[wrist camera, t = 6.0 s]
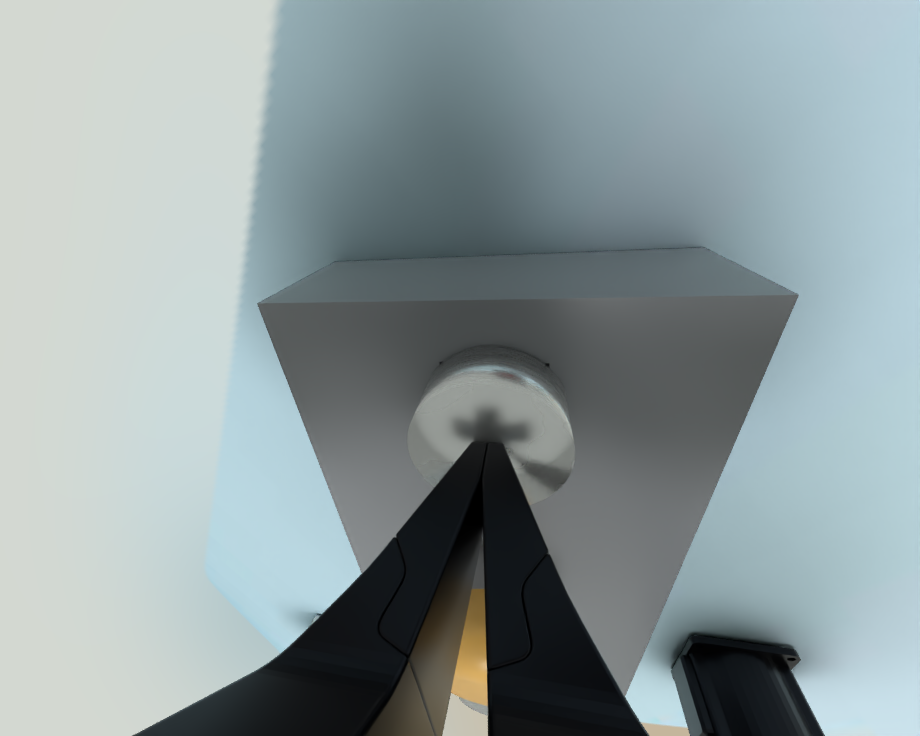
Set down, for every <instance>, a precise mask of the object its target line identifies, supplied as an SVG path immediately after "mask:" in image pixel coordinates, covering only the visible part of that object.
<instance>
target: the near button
mask: <svg viewBox="0 0 920 736" xmlns="http://www.w3.org/2000/svg"><path fill="white" fill-rule="evenodd" d="M473 441H477V442H486V443H487V444H488V443H490V442H495V443H503V444H504V446H505V448H506V450H507V453H508V455H509V457H510V460H511V462H512V464H513V467H514V469H515V472H516V474H517V476H518V479H519V481H520V484H521V486H522V488H523V491H524V493H525V495H526V498H527V500H528V503H529V505H531V504H534V503H537V502H539V501H542V500H544V499H546V498H547V497H549V496H551V495H552V494H554V493H555V492H556V491H557V490H558V489H560V488H561V486H562V485H563V484H564V483H565V482H566V480H567V479H568V477H569V476H570V474H571V471H572V469H573V466H574V461H575V446H574V440H573V434H572V428H571V422H570V416H569V410H568V404H567V398H566V393H565V390H564V387H563V385H562V383H561V382H560V380H559V378H558V377H557V376H556V374H555V373H554V372H553V371H552V370H551V369H550V368H549V366H547V365H546V364H545V363H544V362H542V361H541V360H540V359H538V358H536V357H535V356H533V355H531V354H529V353H527V352H524V351H522V350H519V349H516V348H512V347H507V346H499V345H483V346H476V347H471V348H468V349H465V350H462V351H460V352H457V353H455V354H453V355H452V356H450V357H449V358H447V359H446V360H445V361H443V362H442V363H441V364H440V365H439V366H438V367H437V368H436V370H435V371H434V373H433V374H432V376H431V377H430V380H429V382H428V384H427V387H426V389H425V391H424V393H423V396H422V398H421V400H420V402H419V405H418V407H417V409H416V411H415V414H414V416H413V418H412V421H411V423H410V425H409V429H408V436H407V443H408V450H409V454H410V457H411V459H412V461H413V464H414V465H415V467H416V468H417V470H418V471H419V473H420V474H421V475H422V476H423V478H424V479H425V480H426V481H427V482H429V483H430V484H431V485H432V486H433V487H435V486H436V485H437V484H438V482H439V481H440V480H441V479H442V477H443V476H444V475H445V474H446V473H447V471H448V470H449V469H450V468H451V466H452V465H453V464H454V463H455V462H456V460H457V459H458V458H459V457H460V455H461V454H462V453H463V452H464V451H465V449H466V448H467V447H468V446H469V445H470V443H471V442H473Z"/></svg>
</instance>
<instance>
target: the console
mask: <svg viewBox="0 0 920 736" xmlns="http://www.w3.org/2000/svg"><path fill="white" fill-rule="evenodd" d="M797 298H798V294H796V293H794V292H792V291H790V290H788V289H786V288H784V287H782V286H780V285H778V284H776V283H774V282H772V281H770V280H768V279H766V278H764V277H762V276H760V275H758V274H756V273H754V272H752V271H750V270H748V269H746V268H744V267H742V266H740V265H738V264H736V263H734V262H732V261H730V260H728V259H726V258H724V257H722V256H720V255H718V254H716V253H714V252H712V251H710V250H708V249H706V248H704V247H698V248H673V249H647V250H621V251H595V252H569V253H543V254H518V255H492V256H466V257H440V258H414V259H389V260H363V261H337V262H333V263H332V264H330V265H328V266H326V267H324V268H322V269H320V270H318V271H317V272H315V273H313V274H311V275H309V276H307V277H305V278H304V279H302V280H300V281H298V282H296V283H294V284H292V285H291V286H289V287H287V288H285V289H283V290H281V291H279V292H278V293H276V294H274V295H272V296H270V297H268V298H266V299H264V300H263V301H261V302H259V303H257V305H258V307H259V310H260V312H261V315H262V317H263V320H264V323H265V325H266V328H267V330H268V333H269V335H270V338H271V341H272V343H273V346H274V348H275V351H276V353H277V356H278V359H279V361H280V364H281V366H282V369H283V372H284V374H285V377H286V379H287V382H288V384H289V387H290V390H291V392H292V395H293V397H294V400H295V402H296V405H297V408H298V410H299V413H300V415H301V418H302V421H303V423H304V426H305V428H306V431H307V433H308V436H309V439H310V441H311V444H312V446H313V449H314V451H315V454H316V457H317V459H318V462H319V464H320V467H321V469H322V472H323V475H324V477H325V480H326V482H327V485H328V488H329V490H330V493H331V495H332V498H333V500H334V503H335V506H336V508H337V511H338V513H339V516H340V518H341V521H342V524H343V526H344V529H345V531H346V534H347V537H348V539H349V542H350V544H351V547H352V549H353V552H354V555H355V557H356V560H357V562H358V565H359V567H360V570H361V573H363V572H364V571H365V570H366V569H367V568H368V567H369V566H370V564H371V563H372V562H373V561H374V560H375V559H376V557H377V556H378V555H379V554H380V553H381V552H382V550H383V549H384V548H385V547H386V546H387V544H388V543H389V542H390V541H391V539H392V538H393V537H396V534H397V532H398V531H399V530H400V529H401V528H402V526H403V525H404V524H405V523H406V521H407V520H408V519H409V518H410V517H411V515H412V514H413V513H414V512H415V510H416V509H417V508H418V507H419V506H420V504H421V503H422V502H423V501H424V499H425V498H426V497H427V496H428V495H429V493H430V492H431V491H432V490H433V488H434V487H433V486H432V485H431V484H430V483H429V482H427V481H426V480H425V479H424V478H423V476H422V475H421V474H420V473H419V471H418V470H417V468H416V467H415V465H414V464H413V461H412V459H411V457H410V454H409V450H408V443H407V436H408V429H409V425H410V423H411V421H412V418H413V416H414V414H415V411H416V409H417V407H418V405H419V402H420V400H421V398H422V396H423V393H424V391H425V389H426V387H427V384H428V382H429V380H430V377H431V376H432V374H433V373H434V371H435V370H436V368H437V367H438V366H439V365H440V364H441V363H442V362H443V361H445V360H446V359H447V358H449V357H450V356H452V355H453V354H455V353H457V352H460V351H462V350H465V349H468V348H471V347H476V346H483V345H499V346H507V347H512V348H516V349H519V350H522V351H524V352H527V353H529V354H531V355H533V356H535V357H536V358H538V359H540V360H541V361H542V362H544V363H545V364H546V365H547V366H549V368H550V369H551V370H552V371H553V372H554V373H555V374H556V376H557V377H558V378H559V380H560V382H561V383H562V385H563V387H564V390H565V393H566V398H567V404H568V410H569V416H570V422H571V428H572V434H573V440H574V446H575V461H574V466H573V469H572V471H571V474H570V476H569V477H568V479H567V480H566V482H565V483H564V484H563V485H562V486H561V488H560V489H558V490H557V491H556V492H555V493H554V494H552V495H551V496H549V497H547V498H546V499H544V500H542V501H539V502H537V503H534V504H531V505H530V507H531V510H532V512H533V515H534V517H535V519H536V522H537V524H538V526H539V529H540V531H541V534H542V536H543V538H544V541H545V543H546V546H547V548H548V550H549V554H550V555H551V557H552V559H553V562H554V564H555V566H556V569H557V571H558V573H559V576H560V578H561V580H562V582H563V584H564V586H565V589H566V591H567V593H568V595H569V597H570V599H571V601H572V603H573V605H574V607H575V608H576V610H577V612H578V614H579V616H580V618H581V620H582V622H583V624H584V625H585V627H586V629H587V631H588V632H589V634H590V636H591V638H592V640H593V641H594V643H595V645H596V647H597V648H598V650H599V652H600V654H601V656H602V657H603V659H604V661H605V663H606V664H607V666H608V668H609V670H610V672H611V673H612V675H613V677H614V679H615V680H616V682H617V684H618V686H619V688H620V689H621V691H622V693H623V695H624V696H625V695H626V693H627V691H628V688H629V686H630V684H631V681H632V679H633V677H634V675H635V672H636V670H637V668H638V665H639V663H640V661H641V658H642V656H643V654H644V651H645V649H646V647H647V644H648V642H649V640H650V638H651V635H652V633H653V631H654V628H655V626H656V624H657V621H658V619H659V617H660V614H661V612H662V610H663V608H664V605H665V603H666V601H667V598H668V596H669V594H670V591H671V589H672V587H673V584H674V582H675V580H676V577H677V575H678V573H679V571H680V568H681V566H682V564H683V561H684V559H685V557H686V554H687V552H688V550H689V547H690V545H691V543H692V540H693V538H694V536H695V534H696V531H697V529H698V527H699V524H700V522H701V520H702V517H703V515H704V513H705V510H706V508H707V506H708V503H709V501H710V499H711V497H712V494H713V492H714V490H715V487H716V485H717V483H718V480H719V478H720V476H721V473H722V471H723V469H724V467H725V464H726V462H727V460H728V457H729V455H730V453H731V450H732V448H733V446H734V443H735V441H736V439H737V436H738V434H739V432H740V430H741V427H742V425H743V423H744V420H745V418H746V416H747V413H748V411H749V409H750V406H751V404H752V402H753V399H754V397H755V395H756V393H757V390H758V388H759V386H760V383H761V381H762V379H763V376H764V374H765V372H766V369H767V367H768V365H769V362H770V360H771V358H772V356H773V353H774V351H775V349H776V346H777V344H778V342H779V339H780V337H781V335H782V332H783V330H784V328H785V325H786V323H787V321H788V319H789V316H790V314H791V312H792V309H793V307H794V305H795V302H796V300H797ZM481 546H483V536H482V541H481Z"/></svg>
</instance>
